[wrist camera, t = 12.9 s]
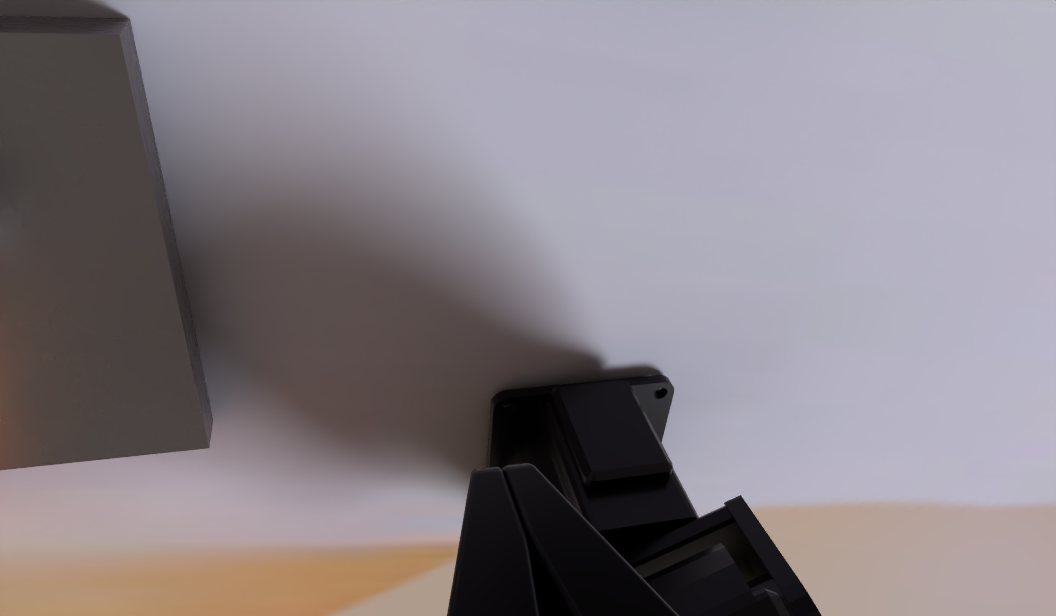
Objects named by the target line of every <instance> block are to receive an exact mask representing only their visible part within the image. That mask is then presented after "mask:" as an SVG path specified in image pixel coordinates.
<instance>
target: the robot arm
mask: <svg viewBox="0 0 1056 616" xmlns="http://www.w3.org/2000/svg"><path fill="white" fill-rule="evenodd" d="M660 388H661V389H660ZM658 389H660V390H659V391H656V390H658ZM655 391H656V392H655ZM673 394H674V387H673V386H672V384H671V382H670V381H669V379H668V377H666V376H663V375H656V376H646V377H636V378H626V379H615V380H605V381H595V382H584V383H574V384H564V385H554V386H543V387H533V388H523V389H513V390H505V391H501V392H499V393H497V394H496V395H495V396H494V397H493V398H492V401H491V410H490V424H489V438H488V453H487V467H486V468H483V469H476V470H474V471H472V473H471V477H470V483H469V489H468V494H467V500H466V506H465V512H464V518H463V524H462V530H461V536H460V542H459V548H458V554H457V560H456V565H455V571H454V578H453V583H452V589H451V596H450V601H449V607H448V613H447V616H821V614H820V612H819V611H818V609H817V607H816V605H815V604H814V602H813V601H812V599H811V597H810V596H809V594H808V592H807V591H806V590H805V588H804V586H803V585H802V583H801V582H800V580H799V579H798V577H797V576H796V575H795V573H794V572H793V570H792V569H791V567H790V566H789V564H788V563H787V562H786V560H785V559H784V557H783V556H782V554H781V553H780V551H779V550H778V549H777V547H776V546H775V544H774V543H773V541H772V540H771V539H770V537H769V536H768V534H767V533H766V531H765V530H764V528H763V527H762V526H761V524H760V523H759V521H758V520H757V518H756V517H755V515H754V514H753V512H752V511H751V509H750V508H749V507H748V505H747V504H746V502H745V501H744V499H743V498H742V497H741V495H740V496H738V497H736V498H733V499H731V500H729V501H727V502H725V503H724V504H725V506H723V507H721V508H719V509H717V510H715V511H713V512H710V513H708V514H706V515H704V516H702V517H700V518H699V517H698V515H697V513H696V511H695V509H694V507H693V505H692V504H691V502H690V500H689V498H688V496H687V494H686V492H685V490H684V488H683V486H682V484H681V483H680V481H679V479H678V477H677V475H676V473H675V471H674V469H673V465H672V462H671V460H670V459H669V457H668V455H667V453H666V451H665V449H664V447H663V445H662V443H661V442H662V438H663V434H664V430H665V426H666V422H667V418H668V414H669V410H670V406H671V402H672V398H673ZM508 403H509V404H511V405H509V406H507V407H502V406H504V405H505V404H508Z"/></svg>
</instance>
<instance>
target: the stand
mask: <svg viewBox="0 0 1056 616" xmlns="http://www.w3.org/2000/svg"><path fill="white" fill-rule="evenodd" d="M212 424H213V418H212V413H211V409H210V404H209V399H208V394H207V389H206V384H205V380H204V375H203V370H202V365H201V360H200V355H199V351H198V346H197V341H196V336H195V331H194V327H193V322H192V317H191V312H190V307H189V302H188V298H187V293H186V288H185V283H184V278H183V273H182V269H181V264H180V259H179V254H178V249H177V245H176V240H175V235H174V230H173V225H172V220H171V216H170V211H169V206H168V201H167V196H166V191H165V187H164V182H163V177H162V172H161V167H160V163H159V158H158V153H157V148H156V143H155V138H154V134H153V129H152V124H151V119H150V114H149V109H148V105H147V100H146V95H145V90H144V85H143V81H142V76H141V71H140V66H139V61H138V56H137V52H136V47H135V42H134V37H133V32H132V27H131V23H130V19H108V18H56V17H4V16H0V470H6V469H16V468H25V467H35V466H44V465H54V464H63V463H72V462H82V461H91V460H101V459H110V458H120V457H129V456H139V455H148V454H157V453H167V452H176V451H186V450H195V449H205V448H209V446H210V439H211V431H212Z"/></svg>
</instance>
